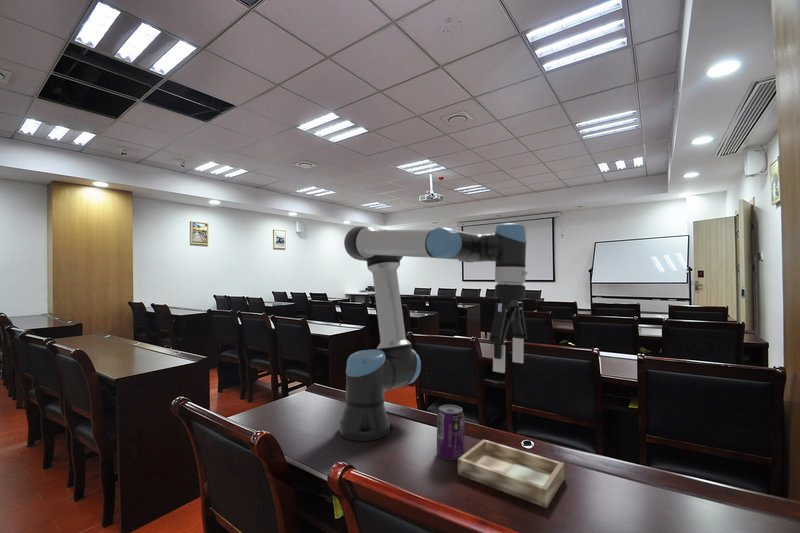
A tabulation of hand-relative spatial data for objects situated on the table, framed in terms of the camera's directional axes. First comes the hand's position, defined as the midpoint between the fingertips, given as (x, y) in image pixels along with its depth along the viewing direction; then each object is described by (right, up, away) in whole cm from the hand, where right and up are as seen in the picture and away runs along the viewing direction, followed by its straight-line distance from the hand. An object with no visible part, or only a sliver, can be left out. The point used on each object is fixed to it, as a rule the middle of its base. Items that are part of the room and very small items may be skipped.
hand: (508, 367), depth 91 cm
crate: (-2, -23, -8) cm, 25 cm away
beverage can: (-15, -24, +2) cm, 28 cm away
